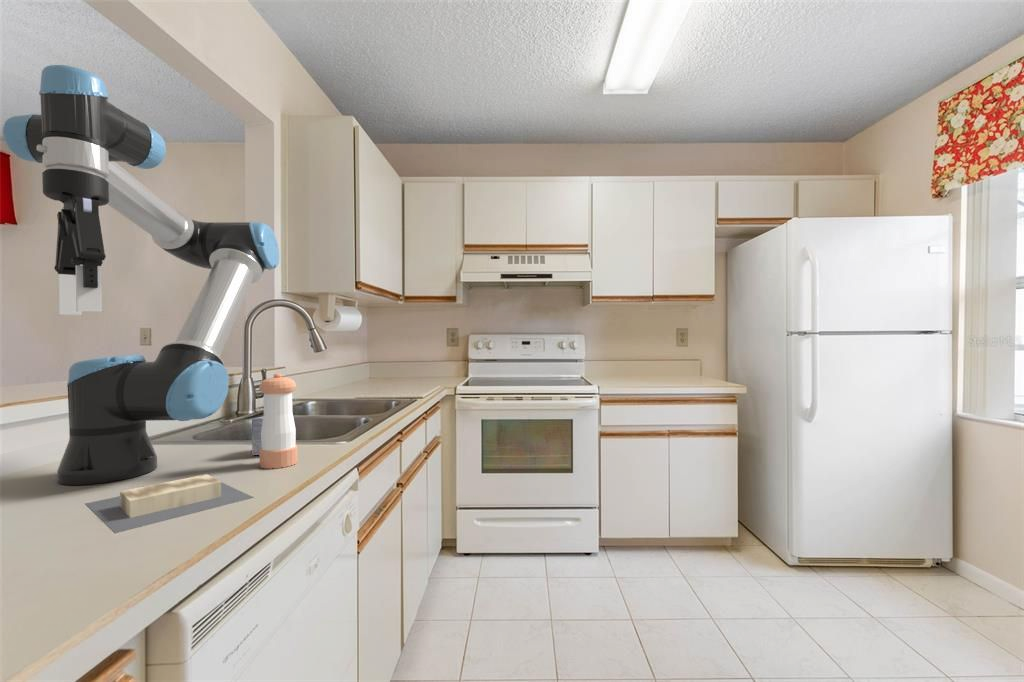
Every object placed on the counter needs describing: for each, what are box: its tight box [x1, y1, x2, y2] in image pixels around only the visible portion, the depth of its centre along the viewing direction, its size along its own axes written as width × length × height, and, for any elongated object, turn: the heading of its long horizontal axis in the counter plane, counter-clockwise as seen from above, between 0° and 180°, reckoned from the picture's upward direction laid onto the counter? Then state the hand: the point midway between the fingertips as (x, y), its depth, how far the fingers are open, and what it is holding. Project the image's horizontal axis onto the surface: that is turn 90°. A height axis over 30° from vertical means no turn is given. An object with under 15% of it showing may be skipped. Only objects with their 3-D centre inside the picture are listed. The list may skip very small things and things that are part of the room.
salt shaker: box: [258, 373, 299, 470], centre depth 101 cm, size 7×7×19 cm
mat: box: [84, 481, 255, 534], centre depth 78 cm, size 19×18×1 cm
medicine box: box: [251, 415, 264, 457], centre depth 112 cm, size 8×4×9 cm, turn 168°
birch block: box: [119, 473, 222, 518], centre depth 77 cm, size 7×2×12 cm
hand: (79, 313), depth 73 cm, fingers open, 13 cm apart
